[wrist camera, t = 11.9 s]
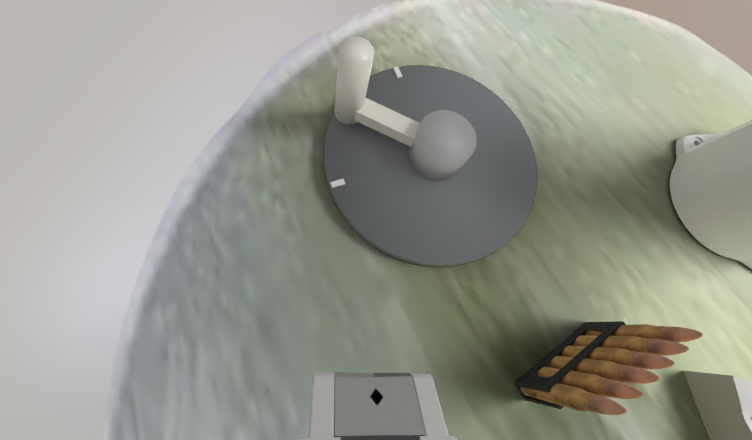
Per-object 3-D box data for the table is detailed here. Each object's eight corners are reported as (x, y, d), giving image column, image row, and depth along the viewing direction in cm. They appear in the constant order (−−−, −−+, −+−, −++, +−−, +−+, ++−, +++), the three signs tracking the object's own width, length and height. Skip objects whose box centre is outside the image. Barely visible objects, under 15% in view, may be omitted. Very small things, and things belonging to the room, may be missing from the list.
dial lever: (468, 145, 40) (510, 92, 31) (451, 189, 38) (490, 146, 29) (347, 87, 40) (355, 19, 31) (323, 129, 38) (324, 68, 29)
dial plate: (477, 57, 46) (482, 47, 45) (564, 226, 41) (575, 222, 39) (295, 97, 41) (294, 87, 39) (369, 300, 35) (371, 298, 33)
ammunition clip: (586, 321, 38) (700, 316, 27) (598, 336, 38) (718, 338, 26) (513, 383, 35) (607, 407, 24) (525, 400, 35) (626, 433, 23)
